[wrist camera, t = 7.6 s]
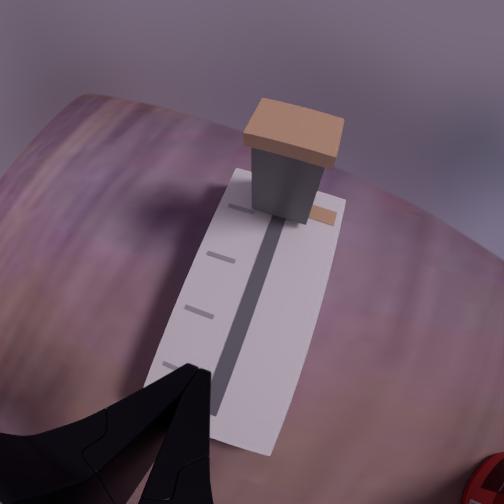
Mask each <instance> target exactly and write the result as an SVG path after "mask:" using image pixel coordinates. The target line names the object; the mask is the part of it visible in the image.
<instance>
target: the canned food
mask: <svg viewBox="0 0 504 504" xmlns="http://www.w3.org/2000/svg"><path fill="white" fill-rule="evenodd" d="M461 504H504V452H501V453H497V454H494V455H492V456H490V457H489V458H487V459H486V460H485V461H484V462H483V463H482V464H481V465H480V466H479V467H478V468H477V469H476V471H475V472H474V473H473V475H472V476H471V478H470V480H469V481H468V483H467V486H466V488H465V490H464V493H463V496H462V501H461Z"/></svg>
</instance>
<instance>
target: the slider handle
mask: <svg viewBox="0 0 504 504" xmlns="http://www.w3.org/2000/svg"><path fill="white" fill-rule="evenodd" d="M343 124H344V119H343V118H340V117H336V116H333V115H330V114H326V113H322V112H319V111H316V110H312V109H308V108H304V107H300V106H296V105H292V104H288V103H284V102H280V101H275V100H271V99H266V98H262V99H261V102H260V103H259V105H258V107H257V108H256V110H255V112H254V114H253V116H252V117H251V119H250V121H249V123H248V125H247V127H246V129H245V130H244V132H243V139H244V146H247V147H251V156H252V209H255V210H258V211H261V212H265V213H268V214H272V215H275V216H278V217H281V218H285V219H288V220H291V221H295V222H298V223H301V224H304V225H306V223H307V220H308V217H309V214H310V211H311V208H312V205H313V202H314V199H315V196H316V193H317V190H318V187H319V184H320V181H321V178H322V174H323V171H324V168H327V169H330V170H332V169H333V166H334V163H335V160H336V157H337V152H338V148H339V143H340V139H341V134H342V129H343Z"/></svg>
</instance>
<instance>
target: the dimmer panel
mask: <svg viewBox="0 0 504 504" xmlns="http://www.w3.org/2000/svg"><path fill="white" fill-rule="evenodd" d="M345 203H346V200H344V199H341V198H338V197H335V196H332V195H329V194H326V193H323V192H319V191H317V193H316V196H315V199H314V202H313V205H312V208H311V211H310V214H309V217H308V220H307V223H306V225H304V224H301V223H298V222H295V221H291V220H288V219H285V218H281V217H278V216H275V215H272V214H268V213H265V212H261V211H258V210H255V209H252V172H250V171H246V170H242V169H238V168H236V170H235V172H234V174H233V176H232V178H231V180H230V182H229V184H228V186H227V188H226V190H225V193H224V195H223V197H222V199H221V201H220V203H219V205H218V208H217V210H216V212H215V214H214V216H213V219H212V221H211V223H210V225H209V227H208V230H207V232H206V234H205V236H204V239H203V241H202V243H201V245H200V248H199V250H198V252H197V254H196V257H195V259H194V261H193V264H192V266H191V268H190V271H189V273H188V275H187V278H186V280H185V282H184V285H183V287H182V290H181V292H180V294H179V297H178V299H177V302H176V304H175V307H174V309H173V311H172V314H171V316H170V319H169V321H168V324H167V326H166V329H165V331H164V334H163V337H162V339H161V342H160V344H159V347H158V349H157V352H156V355H155V357H154V360H153V363H152V365H151V368H150V371H149V373H148V376H147V379H146V381H145V384H144V387H146V386H148V385H149V384H151V383H153V382H155V381H156V380H158V379H160V378H162V377H164V376H165V375H167V374H169V373H170V372H172V371H174V370H176V369H177V368H179V367H181V366H182V365H184V364H186V363H191V364H193V365H196V366H198V367H199V368H203V369H206V370H209V371H211V373H212V377H211V407H210V438H213V439H216V440H218V441H221V442H224V443H227V444H230V445H233V446H236V447H240V448H243V449H246V450H249V451H253V452H256V453H260V454H263V455H267V456H270V455H271V453H272V450H273V448H274V445H275V443H276V440H277V438H278V435H279V432H280V430H281V427H282V424H283V422H284V419H285V416H286V414H287V411H288V408H289V405H290V402H291V400H292V397H293V394H294V391H295V388H296V385H297V382H298V379H299V376H300V373H301V370H302V367H303V364H304V361H305V358H306V355H307V351H308V348H309V345H310V342H311V338H312V335H313V332H314V328H315V325H316V321H317V318H318V314H319V311H320V307H321V304H322V300H323V296H324V292H325V289H326V285H327V281H328V277H329V273H330V269H331V265H332V261H333V257H334V253H335V249H336V244H337V240H338V236H339V231H340V227H341V222H342V217H343V213H344V208H345ZM144 387H143V388H144Z"/></svg>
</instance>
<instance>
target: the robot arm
mask: <svg viewBox="0 0 504 504" xmlns="http://www.w3.org/2000/svg"><path fill="white" fill-rule="evenodd" d="M211 377H212V373H211V371H209V370H206V369H203V368H199V367H198V366H196V365H193V364H191V363H186V364H184V365H182V366H181V367H179V368H177V369H176V370H174V371H172V372H170V373H169V374H167V375H165V376H164V377H162V378H160V379H158V380H156V381H155V382H153V383H151V384H149V385H148V386H146V387H144V388H142V389H140V390H139V391H137V392H135V393H133V394H131V395H129V396H128V397H126V398H124V399H122V400H120V401H118V402H116V403H114V404H113V405H111V406H109V407H107V409H106V408H105V409H103V410H101V411H99V412H97V413H95V414H93V415H91V416H88V417H86V418H84V419H82V420H79V421H76V422H74V423H71V424H68V425H65V426H62V427H59V428H56V429H53V430H49V431H46V432H43V433H39V434H36V435H29V436H19V435H12V434H5V433H0V504H126V503H127V501H128V500H129V498H130V497H131V495H132V494H133V492H134V491H135V489H136V488H137V486H138V485H139V483H140V482H141V481H142V479H143V478H144V476H145V475H146V473H147V472H148V470H149V469H150V467H151V466H152V464H153V463H154V465H153V467H152V470H151V472H150V475H149V477H148V480H147V482H146V485H145V488H144V490H143V493H142V495H141V499H140V500H139V503H138V504H214V503H213V498H212V492H211V484H210V457H209V455H210V407H211ZM154 461H155V462H154Z"/></svg>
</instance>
